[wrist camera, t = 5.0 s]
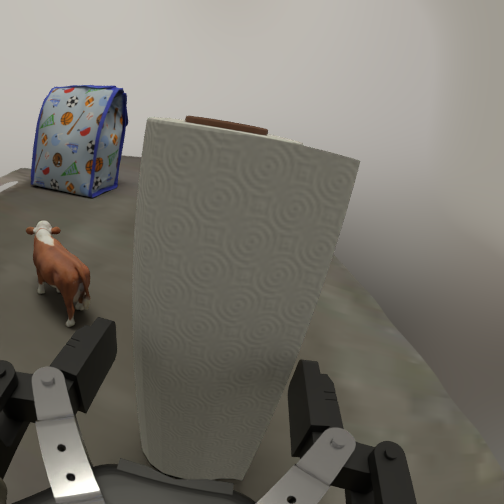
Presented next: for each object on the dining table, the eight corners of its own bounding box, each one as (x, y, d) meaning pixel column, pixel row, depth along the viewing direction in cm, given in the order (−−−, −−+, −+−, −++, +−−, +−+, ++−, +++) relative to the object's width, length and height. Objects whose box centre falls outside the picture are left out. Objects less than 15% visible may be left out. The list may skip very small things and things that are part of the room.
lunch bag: (125, 185, 79) (138, 88, 69) (95, 200, 64) (108, 82, 54) (61, 175, 79) (71, 87, 69) (27, 188, 64) (35, 84, 53)
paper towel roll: (133, 421, 20) (139, 110, 12) (205, 410, 23) (259, 127, 15) (159, 501, 15) (173, 115, 6) (242, 481, 18) (362, 154, 9)
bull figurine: (54, 271, 36) (51, 213, 33) (101, 325, 30) (98, 255, 26) (27, 279, 33) (20, 219, 29) (67, 339, 26) (57, 266, 23)
